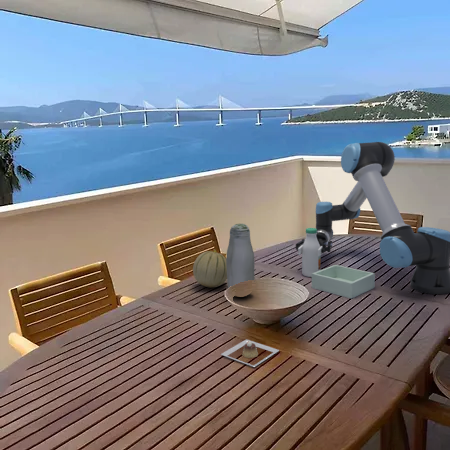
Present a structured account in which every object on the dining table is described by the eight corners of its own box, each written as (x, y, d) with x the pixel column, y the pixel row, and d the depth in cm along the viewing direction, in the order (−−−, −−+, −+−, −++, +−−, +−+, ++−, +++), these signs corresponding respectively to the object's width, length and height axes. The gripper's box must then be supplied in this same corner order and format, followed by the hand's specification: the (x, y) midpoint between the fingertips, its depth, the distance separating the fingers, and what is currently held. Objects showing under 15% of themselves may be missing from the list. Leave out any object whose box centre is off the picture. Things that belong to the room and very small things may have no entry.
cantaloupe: (188, 291, 188) (186, 254, 185) (201, 279, 202) (199, 245, 199) (224, 293, 184) (222, 256, 181) (234, 281, 197) (233, 246, 194)
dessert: (246, 342, 143) (246, 327, 142) (279, 353, 135) (279, 338, 134) (220, 357, 134) (219, 342, 133) (254, 370, 126) (254, 354, 126)
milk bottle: (315, 278, 197) (315, 231, 193) (298, 275, 202) (298, 229, 198) (323, 273, 203) (323, 227, 199) (307, 270, 208) (307, 226, 204)
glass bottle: (245, 302, 174) (242, 228, 168) (222, 297, 180) (220, 225, 174) (259, 294, 181) (258, 223, 175) (238, 290, 187) (235, 220, 182)
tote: (374, 287, 184) (374, 273, 183) (351, 298, 174) (351, 283, 173) (335, 278, 197) (335, 264, 196) (311, 287, 187) (311, 273, 186)
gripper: (342, 249, 213) (333, 263, 193) (297, 246, 221) (284, 259, 200) (342, 232, 212) (333, 245, 191) (297, 230, 220) (284, 242, 199)
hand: (308, 252), depth 196 cm, fingers closed on milk bottle, 7 cm apart
